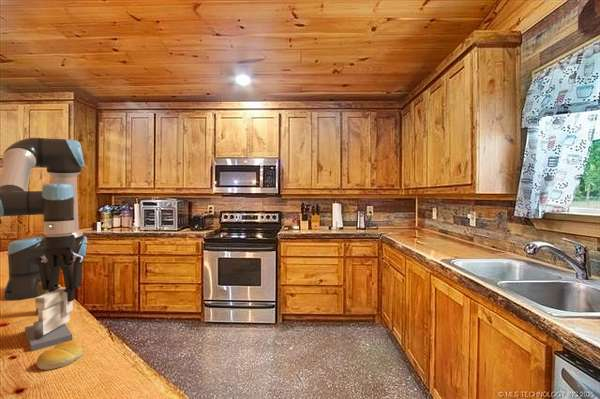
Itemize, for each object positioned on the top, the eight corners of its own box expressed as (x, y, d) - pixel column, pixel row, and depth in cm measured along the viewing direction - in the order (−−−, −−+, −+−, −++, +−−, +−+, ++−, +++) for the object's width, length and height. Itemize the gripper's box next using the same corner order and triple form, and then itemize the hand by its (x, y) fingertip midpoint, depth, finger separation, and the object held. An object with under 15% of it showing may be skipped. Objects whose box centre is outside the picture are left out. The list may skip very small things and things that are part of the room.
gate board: (25, 332, 98) (24, 327, 98) (61, 323, 104) (61, 318, 104) (31, 351, 86) (31, 345, 86) (72, 339, 92) (72, 334, 92)
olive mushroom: (45, 315, 111) (44, 283, 111) (30, 314, 112) (29, 283, 112) (61, 309, 117) (60, 279, 117) (47, 308, 118) (46, 278, 118)
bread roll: (28, 369, 77) (27, 353, 77) (64, 351, 86) (63, 336, 86) (56, 373, 75) (55, 356, 75) (89, 354, 84) (89, 339, 84)
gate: (40, 338, 89) (38, 300, 89) (31, 338, 89) (29, 300, 89) (71, 320, 101) (70, 287, 101) (63, 320, 101) (62, 287, 101)
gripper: (23, 237, 95) (26, 317, 95) (77, 236, 95) (80, 316, 95) (43, 233, 102) (46, 308, 103) (93, 232, 102) (96, 307, 103)
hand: (62, 311), depth 99 cm, fingers closed on gate, 3 cm apart
